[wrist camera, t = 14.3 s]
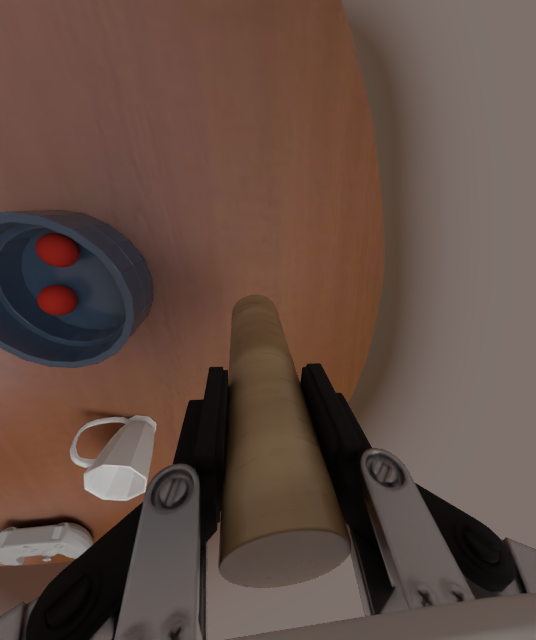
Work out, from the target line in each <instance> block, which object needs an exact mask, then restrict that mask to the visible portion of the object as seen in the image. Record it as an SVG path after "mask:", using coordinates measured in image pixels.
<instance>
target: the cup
mask: <svg viewBox="0 0 536 640" xmlns="http://www.w3.org/2000/svg"><path fill="white" fill-rule="evenodd" d="M111 422H121V423H124V424H125V425H124V426H122V427H121V428H120V429H119V430H118V431H117V433H116V434H115V435H114V436H113V437H112V438H111V439H110V440H109V442H108V443H107V444H106V446H105V447H104V448H103V450H102V451H101V452H100V454H99V455H98V456H97V458H96V459H86V458H81V457H80V456H78V454H77V450H76V443H77V440H78V437H79V435H80V433H81V432H83V431H84V430H85V429H86V428H88V427H92V426H95V425H99V424H104V423H111ZM156 424H157V423H156V422H155V421H154V420H152V419H151V418H150V417H149V416H141V415H135V416H133V417H131V418H129V419H127V418H125V417H110V418H103V419H98V420H94V421H91V422H89V423H87V424H85V425H84V426H83V427H82V428H81V429H80V430H79V431H78V433H77V434H76V436H75V438H74V440H73V442H72V445H71V448H70V455H71V460H72V461H73V462H74V463H75V464H77V465H79V466H82V467H84V468H88V469H87V471H86V472H85V473H84V489H85V490H87V491H88V492H90V493H92V494H94V495H95V496H97V497H99V498H101V499H102V500H123V501H128V500H130V499H132V498H134V497H136V496H138V495H140V494H142V493H144V492H145V491H146V485H147V480H148V474H149V469H150V464H151V459H152V453H153V445H154V434H155V432H156Z"/></svg>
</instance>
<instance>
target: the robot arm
mask: <svg viewBox="0 0 536 640" xmlns="http://www.w3.org/2000/svg"><path fill="white" fill-rule="evenodd" d="M300 384H301V387H302V391H303V394H304V397H305V400H306V403H307V406H308V409H309V412H310V416H311V419H312V422H313V425H314V428H315V431H316V434H317V437H318V440H319V444H320V447H321V450H322V453H323V456H324V459H325V462H326V465H327V469H328V472H329V475H330V478H331V481H332V484H333V487H334V490H335V493H336V497H337V500H338V503H339V506H340V509H341V512H342V515H343V518H344V522H345V525H346V528H347V531H348V534H349V537H350V540H351V552H350V554H351V558H352V562H353V567H354V571H355V575H356V579H357V584H358V588H359V592H360V597H361V601H362V605H363V610H364V614H365V617H359V618H354V619H347V620H342V621H335V622H329V623H323V624H317V625H310V626H304V627H299V628H292V629H286V630H280V631H274V632H268V633H261V634H256V635H250V636H244V637H238V638H232V639H227V640H536V549H534V548H531V547H529V546H526V545H524V544H521V543H519V542H516V541H514V540H511V539H509V538H505V539H504V540H501V539H500V538H499V537H498V536H497V535H496V534H495V533H494V532H492V530H490V529H489V528H488V527H487V526H485V525H484V524H482V523H481V522H480V521H478V520H476V519H475V518H473V517H471V516H470V515H468V514H466V513H465V512H463V511H461V510H460V509H458V508H456V507H455V506H453V505H451V504H450V503H448V502H446V501H445V500H443V499H441V498H439V497H438V496H436V495H434V494H433V493H431V492H429V491H428V490H426V489H424V488H423V487H421V486H419V485H418V484H416V483H414V481H413V479H412V477H411V475H410V473H409V472H408V470H407V468H406V467H405V465H404V464H403V462H401V461H400V459H398V458H397V457H396V456H395V455H393V454H392V453H390V452H388V451H386V450H383V449H378V448H372V447H371V445H370V443H369V442H368V440H367V438H366V436H365V434H364V432H363V431H362V429H361V427H360V425H359V423H358V422H357V420H356V418H355V416H354V414H353V412H352V411H351V409H350V407H349V405H348V403H347V401H346V400H345V398H344V396H343V395H342V394H341V393H335V391H334V389H333V387H332V385H331V383H330V381H329V379H328V377H327V375H326V373H325V371H324V369H323V367H322V365H321V364H320V363H317V364H307V366H306V367H303V368H302V375H301V383H300ZM228 390H229V384H228V370H223V367H210V368H209V373H208V379H207V384H206V390H205V395H204V400H190V401H189V403H188V406H187V410H186V414H185V418H184V422H183V426H182V430H181V434H180V438H179V442H178V446H177V450H176V453H175V457H174V461H173V465H170V466H168V467H166V468H164V469H163V470H161V471H160V472H158V473H157V474H156V475H155V476H154V477H153V479H152V480H151V482H150V483H149V485H148V487H147V490H146V492H145V496H144V501H143V502H142V503H141V504H140V505H139V506H138V507H136V508H135V509H134V510H133V511H132V512H131V513H129V514H128V515H127V516H126V517H125V518H124V519H122V520H121V521H120V522H119V523H118V524H117V525H115V526H114V527H113V528H112V529H111V530H110V531H108V532H107V533H106V534H105V535H104V536H103V537H101V538H100V539H99V540H98V541H97V542H96V543H94V544H93V545H92V546H91V547H90V548H88V549H87V550H86V551H85V552H84V553H83V554H81V555H80V556H79V557H78V558H77V559H76V560H74V561H73V562H72V563H71V564H70V565H69V566H67V567H66V568H65V569H64V570H63V571H62V572H60V573H59V575H57V577H55V578H54V579H53V580H52V581H51V583H49V584H48V586H47V587H46V589H45V590H44V591H43V593H42V594H41V595H40V596H39V597H37V598H36V599H34V600H33V601H31V602H30V603H28V604H26V603H25V602H22V603H20V604H19V605H17V606H15V607H14V608H12V609H10V610H9V611H7V612H6V613H4V614H2V615H1V616H0V640H208V638H207V637H208V632H207V629H208V627H207V626H208V625H207V541H208V540H209V539H210V538H211V536H212V535H213V534H214V533H215V532H216V531H217V523H218V522H220V511H221V506H222V488H223V482H224V470H225V450H226V430H227V410H228Z"/></svg>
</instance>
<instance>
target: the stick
mask: <svg viewBox="0 0 536 640" xmlns="http://www.w3.org/2000/svg"><path fill="white" fill-rule="evenodd" d="M228 384H229V390H228V410H227V430H226V450H225V470H224V482H223V488H222V506H221V525H220V544H219V561H218V568H219V572H220V574H221V576H222V577H223V578H224V579H226V580H227V581H229V582H231V583H234V584H237V585H241V586H246V587H255V588H270V587H280V586H287V585H292V584H297V583H301V582H305V581H308V580H311V579H314V578H316V577H319V576H321V575H323V574H326V573H328V572H330V571H331V570H333V569H334V568H336V567H337V566H339V565H340V564H341V563H342V562H344V560H345V559H346V558H347V557H348V556H349V554H350V552H351V540H350V537H349V534H348V531H347V528H346V525H345V522H344V518H343V515H342V512H341V509H340V506H339V503H338V500H337V497H336V493H335V490H334V487H333V484H332V481H331V478H330V475H329V472H328V469H327V465H326V462H325V459H324V456H323V453H322V450H321V447H320V444H319V440H318V437H317V434H316V431H315V428H314V425H313V422H312V419H311V416H310V412H309V409H308V406H307V403H306V400H305V397H304V394H303V391H302V387H301V384H300V381H299V378H298V375H297V372H296V369H295V366H294V362H293V359H292V356H291V353H290V350H289V347H288V344H287V341H286V338H285V334H284V331H283V328H282V325H281V322H280V319H279V316H278V313H277V309H276V307H275V305H274V303H273V302H272V301H271V300H270V299H268V298H267V297H265V296H262V295H249V296H246V297H244V298H242V299H240V300H239V301H238V302H237V303H236V304H235V306H234V308H233V311H232V323H231V341H230V360H229V378H228Z"/></svg>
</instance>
